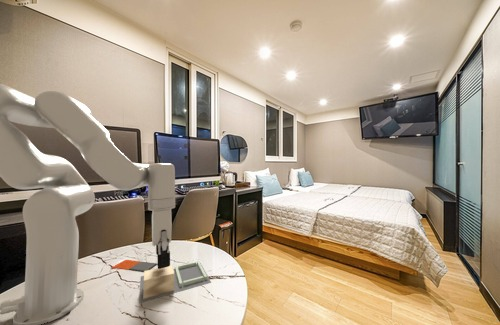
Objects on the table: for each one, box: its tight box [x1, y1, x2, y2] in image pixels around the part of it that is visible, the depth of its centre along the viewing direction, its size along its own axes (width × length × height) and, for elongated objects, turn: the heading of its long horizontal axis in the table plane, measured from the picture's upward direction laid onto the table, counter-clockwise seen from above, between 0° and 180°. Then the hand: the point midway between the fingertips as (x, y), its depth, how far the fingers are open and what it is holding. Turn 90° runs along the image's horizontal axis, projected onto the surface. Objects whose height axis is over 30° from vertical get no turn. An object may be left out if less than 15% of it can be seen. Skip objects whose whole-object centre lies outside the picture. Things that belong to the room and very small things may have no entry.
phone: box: [111, 259, 158, 273], centre depth 70 cm, size 6×1×15 cm
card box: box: [143, 264, 174, 299], centre depth 57 cm, size 8×6×5 cm
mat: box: [138, 260, 212, 304], centre depth 62 cm, size 20×14×2 cm
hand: (162, 259), depth 57 cm, fingers open, 9 cm apart
